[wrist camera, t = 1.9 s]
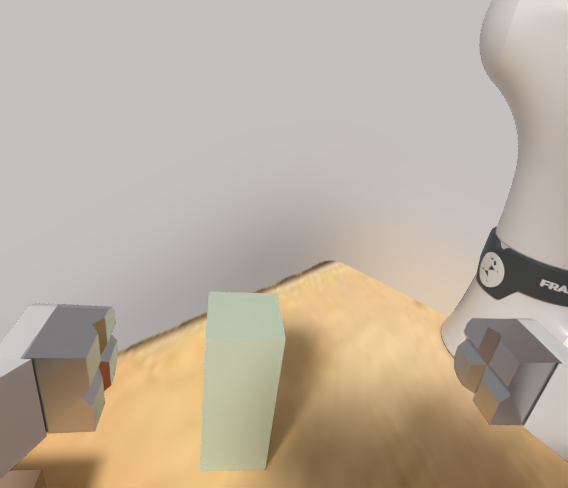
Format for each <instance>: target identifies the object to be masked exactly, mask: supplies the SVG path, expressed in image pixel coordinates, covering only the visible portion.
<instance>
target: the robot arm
mask: <svg viewBox="0 0 568 488" xmlns="http://www.w3.org/2000/svg"><path fill="white" fill-rule="evenodd" d="M480 55H481V60H482V63H483V66H484V69H485V71H486V73H487V75H488V76H489V78H490V79H491V81H492V82H493V83H494V84H495V85H496V86H497V87H498V89H499V90H500V91H501V93H502V94H503V96H504V98H505V99H506V101H507V103H508V105H509V107H510V109H511V112H512V114H513V117H514V120H515V124H516V129H517V134H518V160H517V166H516V171H515V175H514V178H513V182H512V185H511V189H510V192H509V195H508V198H507V201H506V204H505V207H504V210H503V213H502V215H501V218H500V220H499V223H498V226H497V227H495V228H493V229H492V230H491V232H490V234H489V237H488V239H487V241H486V244H485V246H484V249H483V251H482V254H481V256H480V261H479V265H478V270H477V274H476V275H475V277H474V279H473V281H472V282H471V284H470V286H469V288H468V289H467V291H466V293H465V294H464V296H463V298H462V299H461V301H460V303H459V304H458V306H457V307H456V308H455V310H454V311H453V313H452V314H451V315H450V316H449V318H448V319H447V320H446V321H445V322H444V324H443V326H442V329H441V335H442V339H443V341H444V344H445V345H446V347H447V349H448V350H449V352H450V353H451V354H452V355H453V356H454V369H455V372H456V375H457V377H458V379H459V380H460V382H461V383H462V385H463V386H464V387H466V388H467V389H469V390H470V391H472V392H473V393H474V396H473V401H474V403H475V404H476V406H477V407H478V409H479V410H480V412H481V413H482V415H483V416H484V418H485V419H486V421H487V422H488V424H489V425H524V428H525V429H527V430H528V431H529V432H530V433H532V434H533V435H534V436H535V437H537V438H538V439H539V440H540V441H542V442H543V443H544V444H545V445H547V446H548V447H549V448H550V449H552V450H553V451H554V452H555V453H557V454H558V455H559V456H560V457H562V458H563V459H564V460H565V461H567V462H568V0H493V1H492V3H491V4H490V6H489V8H488V11H487V13H486V15H485V18H484V21H483V24H482V28H481V33H480ZM115 324H116V321H115V312H114V309H113V308H112V307H105V306H84V305H65V304H62V305H59V304H33V305H30V306H29V307H28V308H27V309H26V310H25V312H24V313H23V314H22V315H21V317H20V318H19V319H18V321H17V322H16V323H15V325H14V326H13V327H12V329H11V330H10V332H9V333H8V334H7V335H6V336H5V338H4V339H3V340H2V342H1V343H0V479H1V478H2V477H3V476H4V475H5V474H6V473H7V472H8V471H10V470H11V469H12V468H13V467H14V466H15V465H16V464H17V463H18V462H19V461H20V460H21V459H23V458H24V457H25V456H26V455H27V454H28V453H29V452H30V451H31V450H32V449H33V448H34V447H36V446H37V445H38V444H39V443H40V442H41V441H42V440H43V439H44V438H45V437H46V436H47V435H46V434H48V433H70V432H93V431H95V430H96V427H97V424H98V422H99V419H100V416H101V413H102V410H103V407H104V405H105V397H104V391H105V390H106V389H107V388H109V387H110V386H111V384H112V381H113V378H114V375H115V370H116V365H117V354H118V347H117V340H116V339H115V338H114V337H113V336H112V335H111V334H112V332H113V329H114V326H115Z"/></svg>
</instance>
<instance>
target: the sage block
mask: <svg viewBox="0 0 568 488" xmlns="http://www.w3.org/2000/svg"><path fill="white" fill-rule="evenodd" d="M285 340H286V337H285V332H284V326H283V321H282V315H281V310H280V304H279V299H278V294H265V293H235V292H209V303H208V314H207V326H206V338H205V361H204V385H203V408H202V432H201V455H200V472H207V471H236V470H264V469H265V468H266V462H267V455H268V449H269V443H270V436H271V430H272V423H273V417H274V411H275V404H276V398H277V391H278V385H279V379H280V372H281V366H282V359H283V353H284V347H285Z"/></svg>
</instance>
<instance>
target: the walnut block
mask: <svg viewBox="0 0 568 488" xmlns="http://www.w3.org/2000/svg"><path fill="white" fill-rule="evenodd" d="M0 488H46V486H45V482H44V478H43V473H42V470H14V471H8V472H7V473H6V474H5V475H4V476H3V477H2V478H1V479H0Z"/></svg>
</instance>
